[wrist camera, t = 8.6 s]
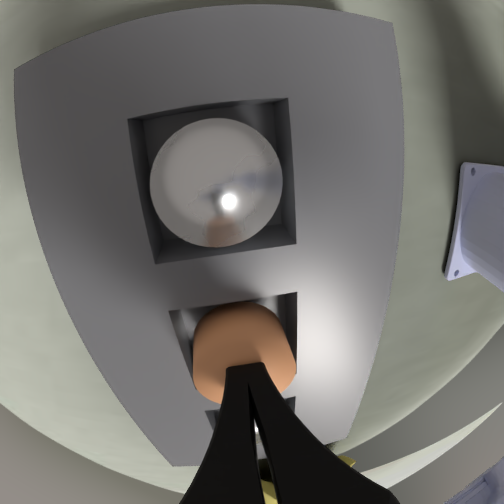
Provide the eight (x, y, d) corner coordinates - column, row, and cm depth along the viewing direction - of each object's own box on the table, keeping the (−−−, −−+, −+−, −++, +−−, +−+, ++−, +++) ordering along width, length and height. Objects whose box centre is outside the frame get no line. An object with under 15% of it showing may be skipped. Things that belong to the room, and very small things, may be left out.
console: (356, 38, 9) (392, 22, 7) (335, 410, 20) (346, 437, 18) (50, 77, 8) (14, 69, 5) (172, 436, 19) (172, 466, 16)
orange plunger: (280, 294, 12) (296, 331, 9) (283, 359, 13) (295, 396, 11) (184, 308, 11) (181, 349, 9) (203, 372, 13) (205, 410, 11)
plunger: (262, 116, 10) (277, 112, 7) (270, 215, 11) (286, 238, 9) (155, 130, 9) (140, 130, 7) (171, 230, 11) (163, 255, 9)
